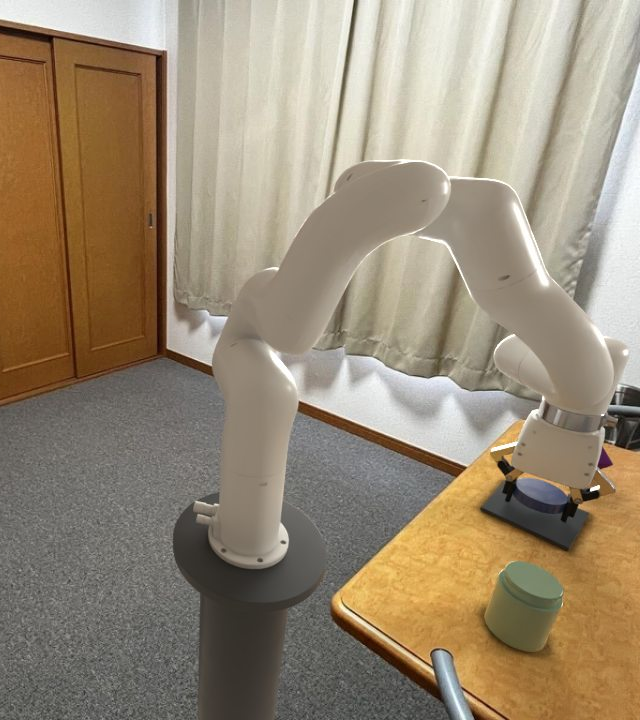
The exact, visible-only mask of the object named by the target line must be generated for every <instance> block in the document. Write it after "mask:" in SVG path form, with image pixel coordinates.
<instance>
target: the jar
mask: <svg viewBox="0 0 640 720" xmlns="http://www.w3.org/2000/svg"><path fill="white" fill-rule="evenodd" d="M564 594H565V589H564V587H563V584H562V583H561V582H560V581H559V579H558V578H557V577H556V576H554V575H553V574H552V573H551V572H550V571H548V570H547V569H545V568H544V567H541V566H539V565H537V564H535V563H533V562H530V561H529V562H528V561H525V560H513V561H510V562H508V563H507V564H506V565H505V567H504V568H503V569H502V570H501V571H500V572H499V573H498V575H497V577H496V581H495V583H494V586H493V588H492V592H491V594H490V597H489V600H488V603H487V606H486V609H485V610H484V615H483V616H484V617H483V618H484V622H485V625H486V626H487V628H488V630H489V631H490V632H491V633H492V634H493V635H494V636H495V637H496V638H497V639H498V640H500V641H501V642H502V643H504V644H505V645H507V646H509V647H511V648H514V649H516V650H518V651H522V652H525V653H526V652H527V653H535V652H539V651H542V650H543V649H544V647H545V646H546V644H547V641H548V639H549V637H550V634H551V632H552V630H553V628H554V626H555V623H556V621H557V620H558V616H559V615H560V612H561V610H562V608H563V604H564V600H563V596H564Z"/></svg>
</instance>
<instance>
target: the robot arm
mask: <svg viewBox="0 0 640 720" xmlns="http://www.w3.org/2000/svg"><path fill="white" fill-rule="evenodd" d="M405 236H407V237H414V238H420V239H423V240H430V241H433V242H437V243H440V244H444V245H445V246H446V247H447V249H448V251H449V252H450V254H451V256H452V259H453V261H454V263H455V264H456V267H457V269H458V270H459V273H460V275H461V277H462V279H463V281H464V285H465V286H466V289H467V291H468V294H469V296H470V298H471V299H472V301H473V303H474V304H475V305H476V306H477V307H478V308H479V309H480V310H481V311H482V312H483V313H484V314H485V315H486V316H488V317H489V318H490V319H492V320H493V321H494V322H495V323H497V324H498V325H499V326H501V327H503V328H504V329H505V330H507V331H508V332H509V333H511V335H508V336H507V337H506V338H504V339H503V340H501V341H500V342H499V343H498V344H497V346H496V347H495V349H494V352H493V362H494V365H495V367H496V369H497V370H498V371H499V372H500V373H501V374H503V375H504V376H505V377H507V378H509V379H510V380H512V381H514V382H516V383H517V384H520V385H521V386H523V387H524V388H527V389H529V390H531V391H533V392H535V393H536V394H538V395H540V396H542V398H541V401H540V404H539V407H538V409H536V408H535V409H533V410H531V412H530V413H529V414H528V416H527V418H526V419H525V421H524V423H523V425H522V427H521V429H520V432H519V434H518V436H517V439H516V441H515V442H512V443H508V444H504V445H500V446H496V447H492V448H491V449H490V452H489V455H490V457H491V458H492V459H493V461H494V463H496V466H497V468H498V469H499V470H500V472H501V473H502V474H503V476H504V480H506V482H505V485H504V488H503V491H502V493H504V494H507V495H506V498H505V501H506V502H510V500H511V497H512V494H513V492H514V489H515V486H516V483H517V480H518V479H519V477H520V476H522V475H523V474H528V475H531V476H533V477H537V478H540V479H544V480H545V481H550V482H553V483H555V484H560V485H562V486H565V487H568V489H569V492H570V493H568V494H567V497H568V498H567V504H566V506H565V508H564V511H563V512H562V513H561V517H560V520H561V521H562V522H564V523H566V521H567V518H568V516H569V517H572V518H573V517H574V515H575V513H576V510H577V508H579V506H580V505H583V504H584V503H585V502H591V501H594V500H598V499H600V498H601V497H606V496H609V495H613V494H615V493H616V491H617V489H616V485H615V484H614V482H612V480H610V479H609V477H608V476H607V475H606V474H605V473H604V472H603V470H602V469H601V470H600V469H599V468H598V467H597V465H598V462H599V459H600V455H601V451H602V446H603V445H604V442H605V437H606V429H605V428H604V427H612V428H616V427H617V424H618V422H619V421H618V420H619V418H617V417H613V416H612V415H609V412H608V410H609V407H610V406H611V402H612V400H613V398H614V395H615V392H616V391H617V388H618V385H619V383H620V380H621V378H622V376H623V373H624V371H625V368H626V366H627V363H628V361H629V358H630V348H629V347H628V345H627V344H625V343H624V342H623V341H621V340H618V339H616V338H613V337H610V336H605V335H603V333H602V332H601V330H600V328H599V327H598V325H597V324H596V323H595V322H594V320H593V319H592V318H591V317H590V316H589V315H588V313H586V312H585V311H584V309H583V308H582V307H581V306H579V304H578V303H577V302H576V301H575V300H574V299H573V298H572V297H571V296H570V295H569V293H568V292H566V290H565V289H563V288H562V286H560V285H559V284H558V283H557V282H556V281H555V280H554V279H553V278H552V277H551V275H550V274H549V272H548V270H547V268H546V266H545V263H544V260H543V257H542V254H541V252H540V249H539V247H538V244H537V241H536V239H535V236H534V233H533V231H532V228H531V225H530V223H529V220H528V218H527V215H526V211H525V209H524V207H523V205H522V203H521V200H520V197H519V196H518V193H517V192H516V190H515V189H513V187H512V186H510V185H509V184H507V183H506V182H503V181H501V180H498V179H492V178H482V177H462V176H448V174H447V173H446V171H444V169H442V168H441V167H440V166H438V165H436V164H434V163H431V162H428V161H425V160H417V159H392V160H391V159H390V160H383V159H382V160H381V159H380V160H379V159H377V160H363V161H360V162H357V163H354V164H353V165H351V166H349V167H347V168H346V169H345V170H344V171H343V172H342V173H341V174H340V175H339V176H338V178H337V180H336V181H335V183H334V186H333V189H332V193H331V194H330V195H329V196H327V197H326V198H325V199H324V200H323V201H321V203H319V204H318V205H317V206H316V207H315V208H314V209H313V210H312V211H311V212H310V213H309V215H308V216H307V217H306V219H305V220H304V222H303V223H302V224H301V225H300V227H299V229H298V231H297V233H296V234H295V236H294V238H293V239H292V242H291V244H290V245H289V247H288V250H287V252H286V253H285V255H284V257H283V258H282V261H281V262H280V265H279V267H269V268H265V269H262V270H260V271H258V272H256V273H254V274H253V275H252V276H251V277H249V279H248V280H247V281H246V282H245V283H244V285H243V286H242V287H241V289H240V290H239V292H238V294H237V296H236V298H235V300H234V302H233V304H232V307H231V309H230V311H229V314H228V316H227V318H226V320H225V323H224V326H223V327H222V330H221V332H220V335H219V337H218V339H217V342H216V344H215V347H214V350H213V354H212V358H211V371H212V374H213V377H214V379H215V382H216V384H217V386H218V388H219V391H220V394H221V396H222V398H223V400H224V405H225V418H224V423H223V428H222V431H221V442H220V469H219V492H220V493H219V504H214V505H209V504H206V503H203V502H199V501H196V500H195V501H194V502H195V504H194V508H193V512H194V513H198V515H197V519H196V522H197V523H200V524H206V525H209V530H208V539H209V543H210V545H211V547H212V549H213V550H214V552H215V553H216V554H217V555H218V556H219V557H220V558H221V559H223V560H224V561H226V562H227V563H229V564H232V565H234V566H237V567H240V568H245V569H263V568H268V567H270V566H273V565H275V564H277V563H278V562H280V561H281V560H282V559H283V558H284V556H285V554H286V553H287V549H288V543H289V539H288V534H287V531H286V529H285V528H284V526H283V525H282V523H281V522H280V520H281V511H282V501H283V500H284V491H285V481H286V471H287V460H288V452H289V444H290V437H291V433H292V428H293V425H294V422H295V420H296V417H297V413H298V409H299V403H300V401H299V400H300V399H299V398H300V397H299V396H300V395H299V389H298V386H297V383H296V381H295V379H294V377H293V375H292V373H291V372H290V370H289V369H288V368H287V367H286V365H285V364H284V363H283V362H282V360H281V359H280V358H279V357H278V356H277V355H276V354H277V352H278V353H280V354H283V355H285V356H299V355H303V354H306V353H308V352H309V351H311V350H312V349H313V348H314V347H315V346H316V345H317V343H318V342H319V341H320V340H321V338H322V336H323V335H324V333H325V331H326V329H327V327H328V325H329V323H330V321H331V318H332V317H333V315H334V313H335V311H336V309H337V307H338V305H339V303H340V301H341V299H342V297H343V295H344V293H345V292H346V289H347V287H348V285H349V283H350V281H351V280H352V278H353V276H354V275H355V274H356V271H357V270H358V268H359V267H360V265H361V264H362V263H363V261H364V260H365V259H366V258H367V257H368V256H369V255H371V254H372V252H374V251H375V250H377V249H378V248H379V247H380V246H382V245H384V244H386V243H388V242H390V241H393V240H394V239H397V238H399V237H405ZM603 447H604V446H603ZM508 455H511V459H510V462H509V461H508V460H507V459H506V458H505V456H508ZM593 480H594V481H595V482H596V483H597V484H598V485H597V486H590V485H591V484H592V481H593ZM200 514H202V515H200ZM204 514H205V515H209V516H211V517H207V516H204Z"/></svg>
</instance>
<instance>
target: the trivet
mask: <svg viewBox="0 0 640 720" xmlns="http://www.w3.org/2000/svg"><path fill="white" fill-rule="evenodd" d="M505 482H506V479H504V481H502V482H501V484H500V485H499V486H498V488H496V490H494V492H493V493H492V494H491V495H490V496H489V498H488V499H486V501H485V502H484V503H483V505H481V507H480V511H482V512H483V513H486V514H488V515H491V516H493V517H495V518H497V519H499V520H501V521H503V522H505V523H508V524H510V525H512V526H513V527H516V528H518V529H519V530H523V531H525V532H527V533H528V534H531V535H533V536H535V537H538V538H540V539H542V540H544V541H546V542H547V543H551V544H553V545H555V546H557V547H559V548H561V549H562V550H565V551H569V550H570V549H571V547H572V545H573V543H574V542H575V540H576V539H577V537H578V535H579V533H580V532H581V530H582V528H583V526H584V524H585V522H586V521H587V519H588V517H589V515H590V512H588V511H586V510H584V509H581V508H579V507H578V508H577V510H576V513H575V515H574V517H573V518H572V517H569V516H568V518H567V521H566V523H564V522H562V521H561V520H560V517H561V513H559V514H547V513H542V512H539V511H536V510H533V509H531V508H529V507H527V506H525V505H523V504H522V503H520V502H519V501H518V500H517V499H516V498H515V497H514V495H513V494H512V497H511V500H510V502H506V501H505V498H506V495H507V494H504V493H502V491H503V488H504V485H505Z"/></svg>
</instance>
